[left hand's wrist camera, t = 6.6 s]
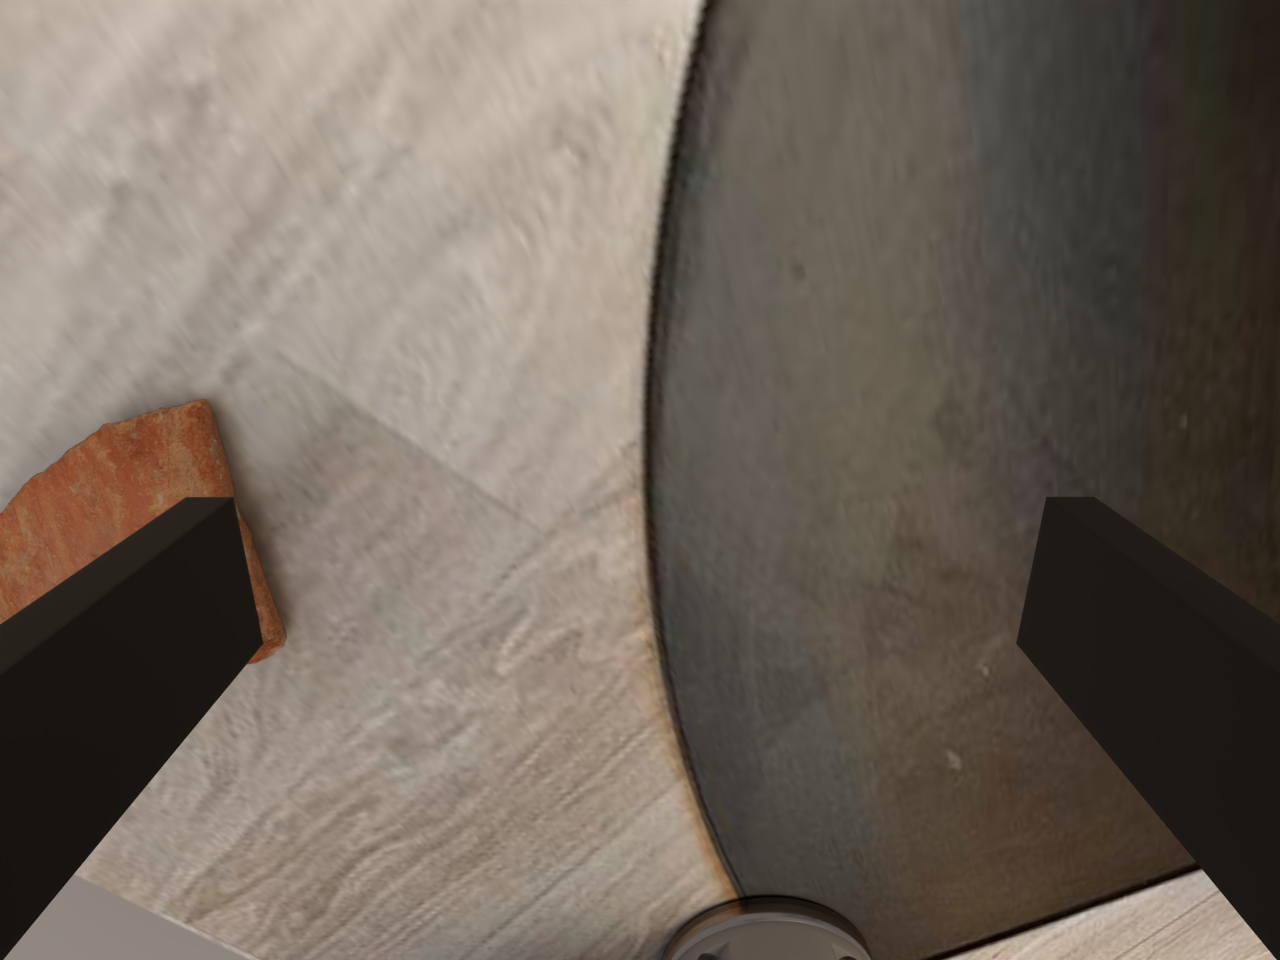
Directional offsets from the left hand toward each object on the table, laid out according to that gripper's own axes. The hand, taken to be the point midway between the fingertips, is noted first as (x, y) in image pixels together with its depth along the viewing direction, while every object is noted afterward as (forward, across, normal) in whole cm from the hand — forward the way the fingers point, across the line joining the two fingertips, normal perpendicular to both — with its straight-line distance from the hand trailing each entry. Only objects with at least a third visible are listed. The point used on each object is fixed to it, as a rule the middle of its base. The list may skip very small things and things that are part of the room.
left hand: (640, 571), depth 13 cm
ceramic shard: (+28, +28, +12) cm, 41 cm away
